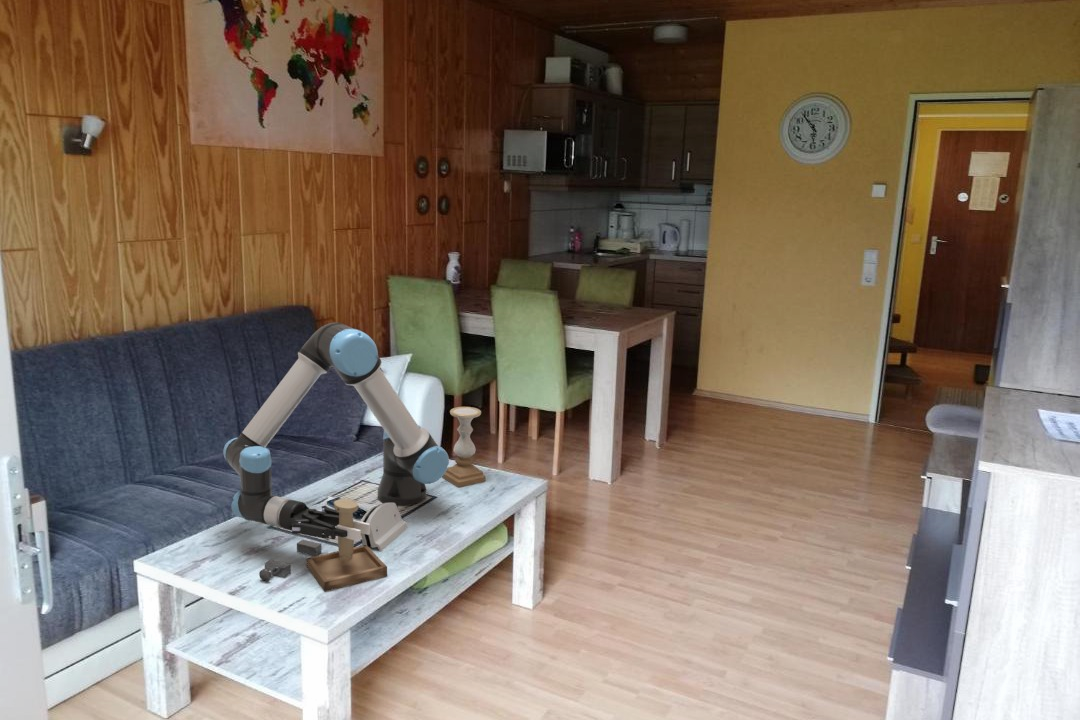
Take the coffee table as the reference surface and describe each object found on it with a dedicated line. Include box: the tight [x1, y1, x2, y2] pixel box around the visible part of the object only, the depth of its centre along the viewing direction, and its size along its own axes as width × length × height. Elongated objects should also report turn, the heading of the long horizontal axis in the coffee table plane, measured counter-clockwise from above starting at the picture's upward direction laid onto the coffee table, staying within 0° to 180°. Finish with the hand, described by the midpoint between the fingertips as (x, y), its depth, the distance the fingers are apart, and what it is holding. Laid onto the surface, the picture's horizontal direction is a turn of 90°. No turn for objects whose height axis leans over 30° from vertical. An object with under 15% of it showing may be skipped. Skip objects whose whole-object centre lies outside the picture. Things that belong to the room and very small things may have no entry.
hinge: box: [360, 503, 409, 552], centre depth 221 cm, size 17×5×10 cm, turn 163°
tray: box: [305, 544, 388, 592], centre depth 201 cm, size 16×14×2 cm
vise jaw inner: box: [296, 539, 323, 557], centre depth 210 cm, size 2×6×2 cm, turn 69°
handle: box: [333, 498, 359, 561], centre depth 199 cm, size 5×6×15 cm
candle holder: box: [441, 406, 487, 488], centre depth 263 cm, size 11×11×24 cm
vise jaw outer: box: [258, 558, 292, 582], centre depth 197 cm, size 6×6×3 cm
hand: (364, 532), depth 197 cm, fingers closed on handle, 3 cm apart
